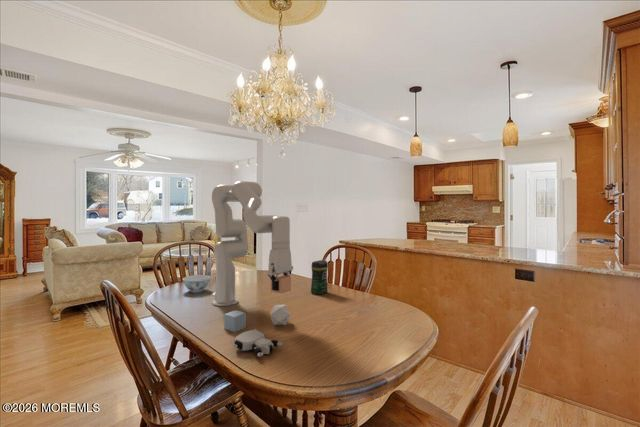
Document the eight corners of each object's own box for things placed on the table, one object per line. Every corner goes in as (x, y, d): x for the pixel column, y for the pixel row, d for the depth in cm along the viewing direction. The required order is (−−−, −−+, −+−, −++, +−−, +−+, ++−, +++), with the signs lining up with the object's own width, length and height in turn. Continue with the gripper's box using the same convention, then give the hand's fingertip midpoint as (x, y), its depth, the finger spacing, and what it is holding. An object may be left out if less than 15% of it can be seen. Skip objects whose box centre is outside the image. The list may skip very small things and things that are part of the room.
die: (281, 331, 128) (294, 309, 131) (263, 319, 129) (277, 298, 132) (283, 330, 135) (295, 310, 138) (266, 319, 137) (279, 299, 140)
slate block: (224, 328, 128) (224, 314, 128) (235, 324, 133) (235, 310, 133) (234, 332, 125) (234, 317, 125) (245, 327, 130) (245, 313, 130)
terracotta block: (270, 291, 132) (270, 277, 132) (280, 288, 137) (280, 274, 137) (281, 293, 129) (281, 278, 129) (290, 290, 134) (290, 276, 134)
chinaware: (178, 290, 184) (178, 277, 184) (204, 286, 194) (204, 273, 194) (188, 296, 173) (188, 282, 173) (214, 291, 183) (214, 278, 183)
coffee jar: (319, 295, 176) (319, 262, 175) (308, 293, 180) (308, 260, 180) (330, 292, 183) (330, 260, 183) (319, 289, 188) (319, 258, 188)
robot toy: (284, 351, 111) (253, 337, 119) (284, 338, 111) (254, 326, 119) (258, 365, 101) (227, 350, 109) (259, 352, 100) (227, 337, 109)
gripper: (287, 243, 142) (287, 283, 143) (259, 247, 128) (259, 291, 128) (300, 244, 138) (300, 285, 138) (273, 248, 124) (273, 294, 124)
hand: (280, 288), depth 133 cm, fingers closed on terracotta block, 6 cm apart
